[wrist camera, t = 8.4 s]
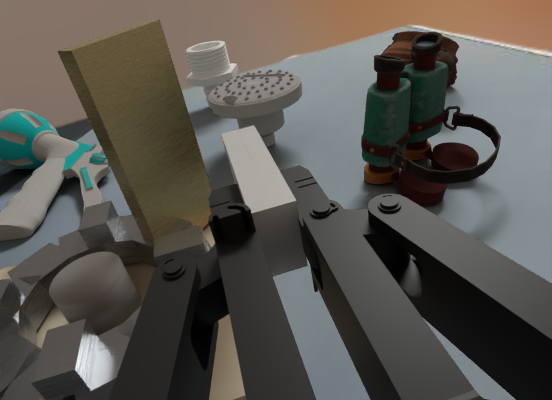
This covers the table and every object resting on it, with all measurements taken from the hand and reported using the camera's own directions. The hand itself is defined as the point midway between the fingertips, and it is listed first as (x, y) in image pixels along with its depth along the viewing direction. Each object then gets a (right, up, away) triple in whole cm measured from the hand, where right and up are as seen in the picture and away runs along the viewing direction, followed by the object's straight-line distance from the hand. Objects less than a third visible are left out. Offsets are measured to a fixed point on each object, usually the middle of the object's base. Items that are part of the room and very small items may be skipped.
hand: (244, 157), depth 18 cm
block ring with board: (-8, -8, +7) cm, 13 cm away
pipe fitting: (-6, +11, +38) cm, 40 cm away
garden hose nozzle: (-23, -1, +26) cm, 35 cm away
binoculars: (+14, 0, +15) cm, 20 cm away
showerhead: (0, +4, +25) cm, 25 cm away
